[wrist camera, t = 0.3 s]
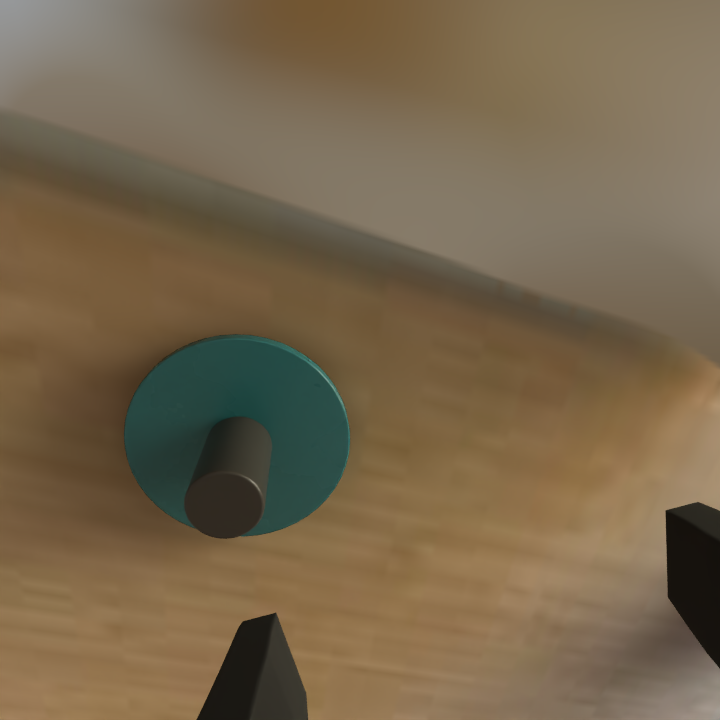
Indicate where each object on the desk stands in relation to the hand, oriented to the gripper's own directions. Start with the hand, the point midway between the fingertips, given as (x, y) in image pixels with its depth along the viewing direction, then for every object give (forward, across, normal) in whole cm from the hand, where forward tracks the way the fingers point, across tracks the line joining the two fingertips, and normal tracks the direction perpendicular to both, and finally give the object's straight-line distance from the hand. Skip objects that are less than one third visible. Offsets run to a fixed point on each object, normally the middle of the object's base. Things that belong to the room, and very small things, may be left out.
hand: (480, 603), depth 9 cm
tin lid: (+9, +6, 0) cm, 11 cm away
